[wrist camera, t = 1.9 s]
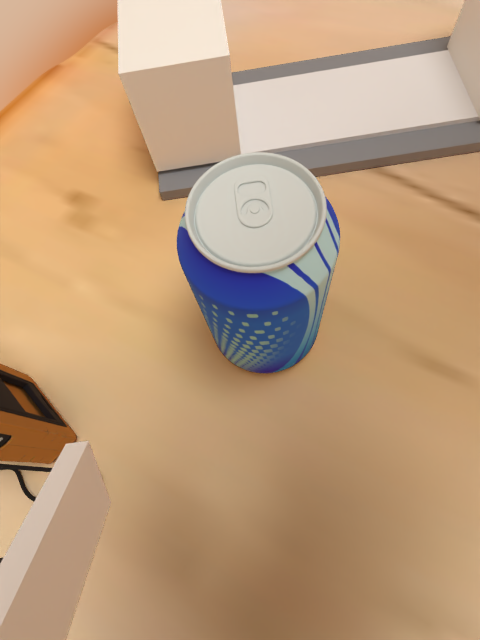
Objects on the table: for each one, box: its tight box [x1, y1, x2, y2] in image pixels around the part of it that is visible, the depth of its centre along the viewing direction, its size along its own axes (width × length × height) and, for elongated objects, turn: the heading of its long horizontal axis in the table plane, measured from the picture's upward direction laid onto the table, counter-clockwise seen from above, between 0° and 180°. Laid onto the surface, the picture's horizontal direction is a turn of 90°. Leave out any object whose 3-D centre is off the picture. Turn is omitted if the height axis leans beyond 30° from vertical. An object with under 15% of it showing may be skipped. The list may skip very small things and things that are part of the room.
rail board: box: [118, 0, 480, 200], centre depth 36 cm, size 38×14×12 cm, turn 97°
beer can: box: [177, 152, 340, 373], centre depth 26 cm, size 8×8×16 cm
